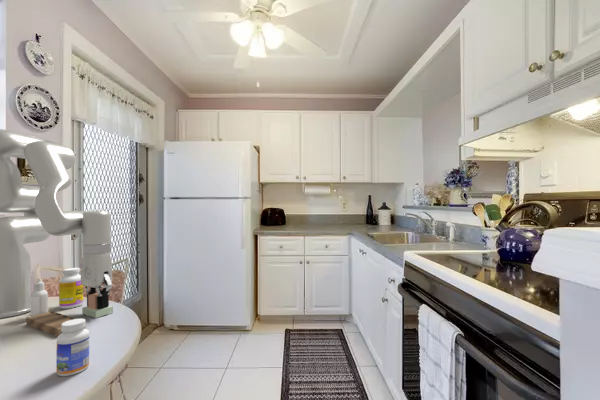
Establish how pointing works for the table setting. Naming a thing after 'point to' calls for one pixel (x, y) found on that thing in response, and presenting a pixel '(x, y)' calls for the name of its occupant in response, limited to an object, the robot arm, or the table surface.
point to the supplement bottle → (70, 289)
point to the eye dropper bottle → (39, 299)
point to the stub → (95, 307)
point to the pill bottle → (72, 348)
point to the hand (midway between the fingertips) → (97, 306)
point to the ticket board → (48, 322)
